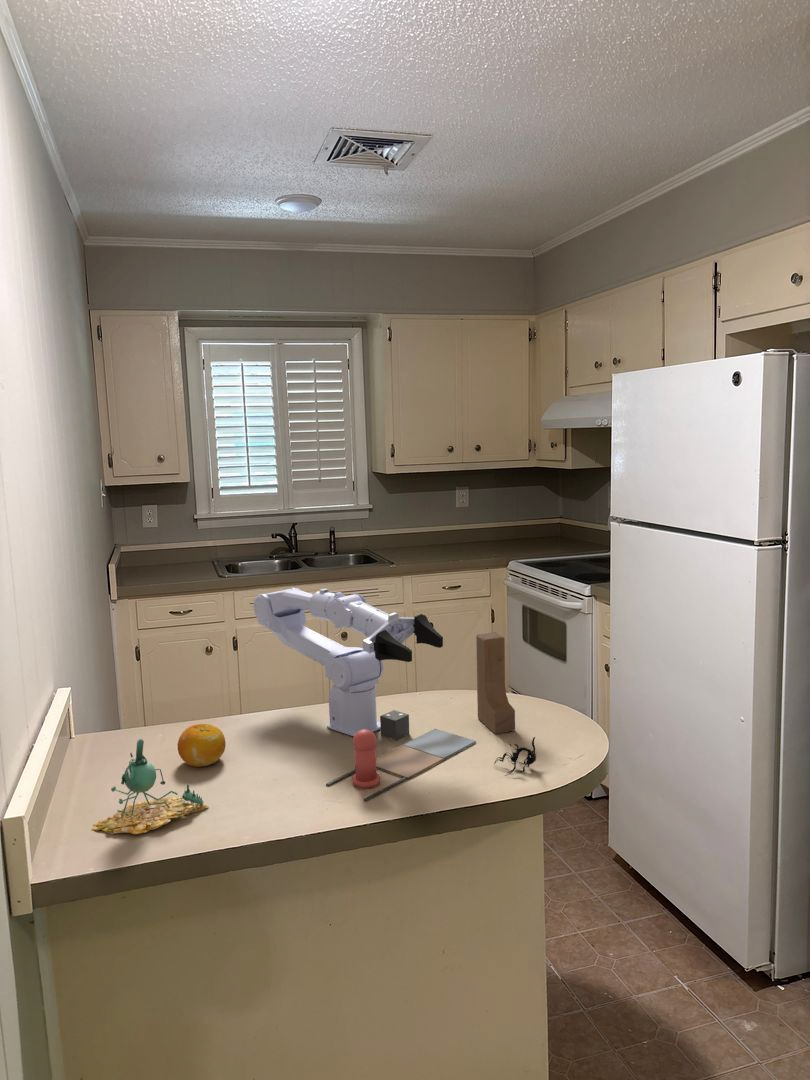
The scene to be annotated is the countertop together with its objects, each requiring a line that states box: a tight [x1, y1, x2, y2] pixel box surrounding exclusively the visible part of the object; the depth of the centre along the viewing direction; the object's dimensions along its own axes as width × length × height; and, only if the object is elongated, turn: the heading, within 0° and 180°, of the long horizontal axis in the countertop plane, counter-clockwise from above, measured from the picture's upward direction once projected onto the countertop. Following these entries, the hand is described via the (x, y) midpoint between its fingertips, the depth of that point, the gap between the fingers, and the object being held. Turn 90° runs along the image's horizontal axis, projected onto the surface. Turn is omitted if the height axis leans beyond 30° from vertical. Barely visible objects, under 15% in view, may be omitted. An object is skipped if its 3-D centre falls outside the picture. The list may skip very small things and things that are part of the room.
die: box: [379, 709, 410, 741], centre depth 156 cm, size 4×4×4 cm
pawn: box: [351, 729, 381, 790], centre depth 136 cm, size 5×5×10 cm
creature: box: [493, 736, 537, 777], centre depth 140 cm, size 8×5×8 cm
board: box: [325, 728, 477, 803], centre depth 144 cm, size 10×30×1 cm, turn 139°
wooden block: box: [475, 632, 516, 735], centre depth 158 cm, size 9×4×18 cm, turn 17°
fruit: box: [177, 723, 227, 768], centre depth 146 cm, size 8×8×8 cm
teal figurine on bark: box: [91, 738, 210, 835], centre depth 124 cm, size 10×18×15 cm, turn 100°
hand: (426, 649), depth 142 cm, fingers open, 7 cm apart
